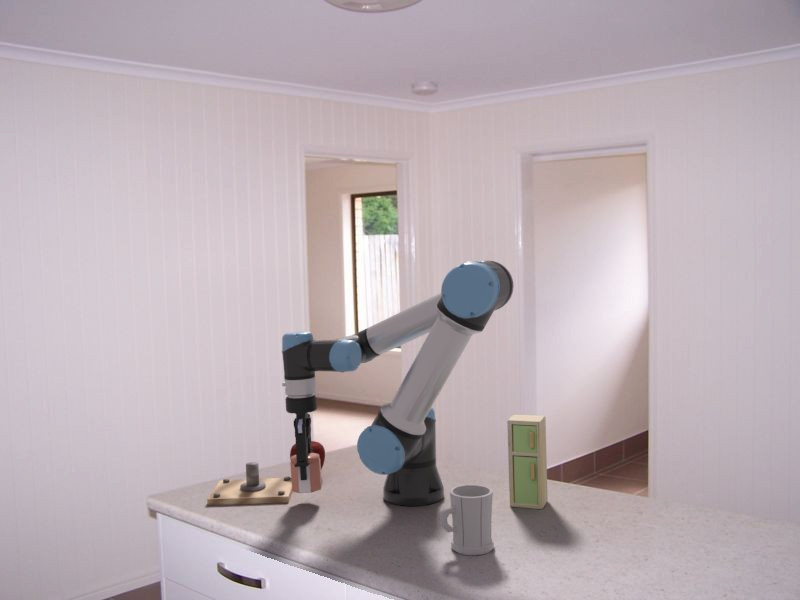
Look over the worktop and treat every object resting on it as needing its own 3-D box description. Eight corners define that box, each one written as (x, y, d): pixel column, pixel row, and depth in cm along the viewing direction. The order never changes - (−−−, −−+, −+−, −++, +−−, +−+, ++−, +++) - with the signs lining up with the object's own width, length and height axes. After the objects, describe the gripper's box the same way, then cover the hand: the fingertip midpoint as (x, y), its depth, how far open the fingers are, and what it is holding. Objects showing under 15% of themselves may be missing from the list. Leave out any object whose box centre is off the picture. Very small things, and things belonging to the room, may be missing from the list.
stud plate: (295, 482, 209) (294, 454, 209) (288, 502, 193) (287, 471, 193) (220, 485, 209) (219, 456, 208) (207, 505, 193) (206, 474, 192)
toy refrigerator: (507, 507, 185) (506, 420, 183) (515, 498, 192) (513, 413, 190) (541, 511, 182) (540, 422, 180) (547, 501, 189) (546, 415, 187)
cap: (322, 483, 195) (320, 452, 195) (320, 492, 188) (318, 459, 188) (294, 485, 195) (292, 453, 195) (291, 493, 188) (289, 461, 188)
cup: (478, 562, 153) (477, 502, 153) (438, 553, 158) (436, 495, 157) (501, 544, 162) (500, 487, 162) (462, 536, 167) (460, 481, 166)
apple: (323, 481, 209) (322, 445, 209) (288, 482, 209) (286, 446, 209) (327, 471, 219) (326, 436, 218) (293, 472, 219) (292, 437, 218)
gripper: (289, 389, 200) (295, 477, 202) (280, 403, 180) (286, 501, 182) (319, 387, 200) (324, 475, 202) (312, 401, 181) (318, 499, 182)
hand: (306, 487), depth 192 cm, fingers closed on cap, 7 cm apart
